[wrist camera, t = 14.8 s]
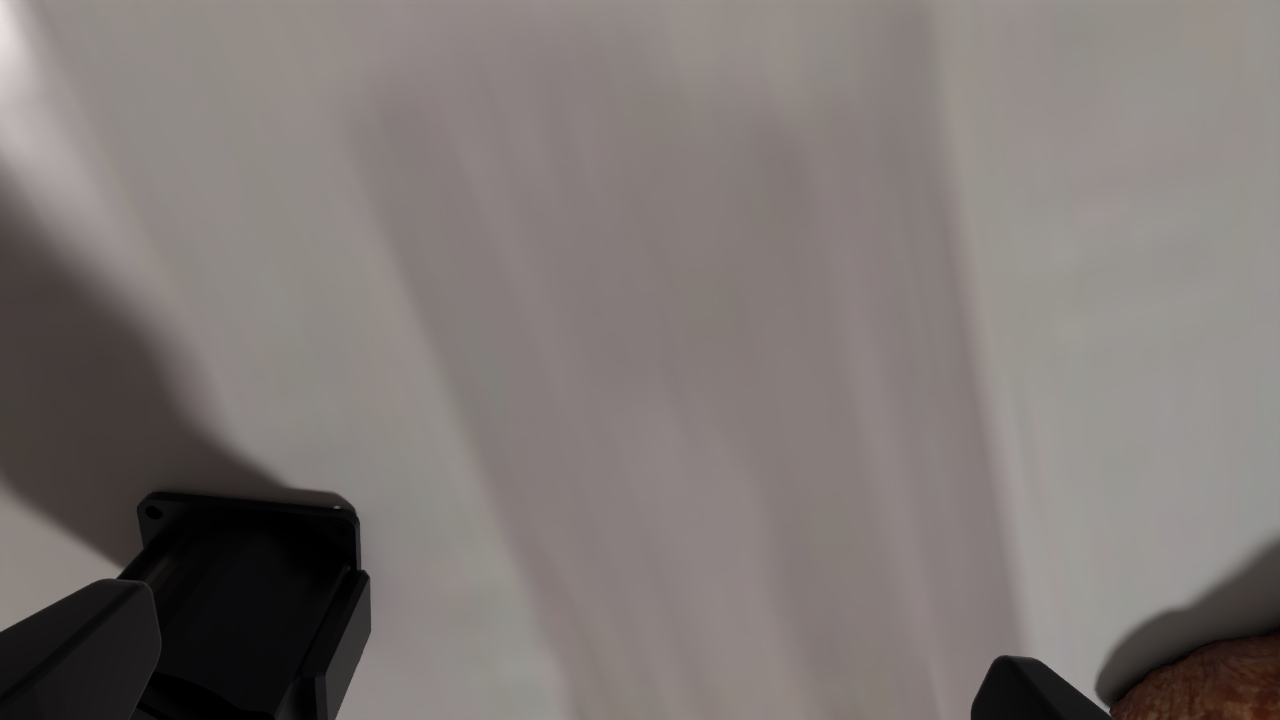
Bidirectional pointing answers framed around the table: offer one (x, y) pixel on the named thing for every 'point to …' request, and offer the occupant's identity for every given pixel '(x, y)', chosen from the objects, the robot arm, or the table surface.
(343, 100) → the table surface
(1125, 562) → the table surface
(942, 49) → the table surface
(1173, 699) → the pastry
